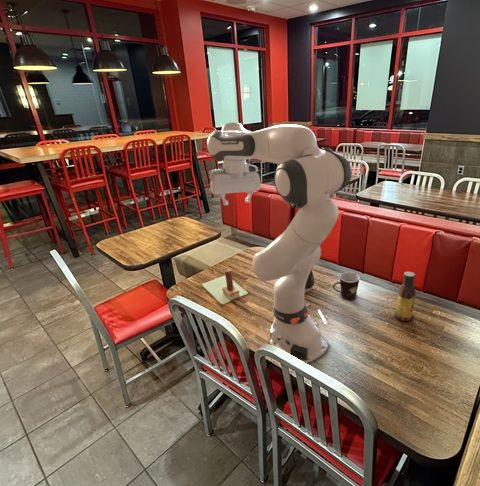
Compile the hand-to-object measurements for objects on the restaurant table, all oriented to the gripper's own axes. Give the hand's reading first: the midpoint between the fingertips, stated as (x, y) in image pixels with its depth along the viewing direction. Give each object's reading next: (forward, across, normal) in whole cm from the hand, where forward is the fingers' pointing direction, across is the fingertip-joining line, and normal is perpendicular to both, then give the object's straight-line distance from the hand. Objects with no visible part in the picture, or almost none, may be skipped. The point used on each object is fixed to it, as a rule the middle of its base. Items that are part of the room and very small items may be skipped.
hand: (237, 203), depth 124 cm
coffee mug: (+44, +42, -19) cm, 64 cm away
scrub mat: (+44, -2, +18) cm, 47 cm away
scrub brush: (+44, -1, +11) cm, 45 cm away
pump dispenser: (+44, +29, -4) cm, 53 cm away
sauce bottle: (+46, +51, -43) cm, 81 cm away
